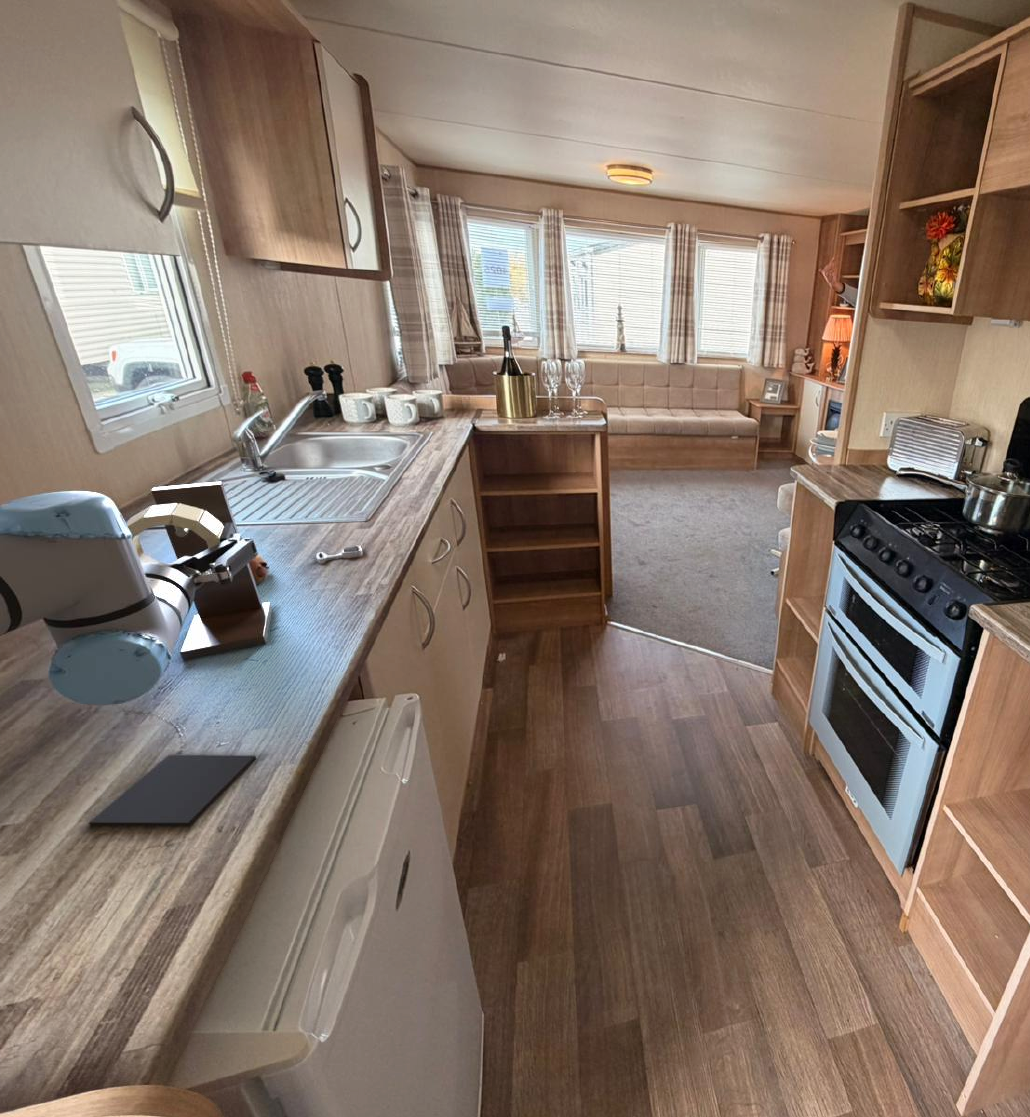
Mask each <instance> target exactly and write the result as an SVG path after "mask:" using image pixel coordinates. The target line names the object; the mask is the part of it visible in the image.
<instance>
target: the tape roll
mask: <svg viewBox="0 0 1030 1117" xmlns="http://www.w3.org/2000/svg"><path fill="white" fill-rule="evenodd" d="M203 511H204V510H203V509H199V508H195V507H192V506H188V505H184V504H180V503H179V504H178V503H173V504H163V505H156V504H154V505H149V506H148V507H146V508H144V509H143V510H141V511H139V512H138V513H136V514H135V515H133V516H131V517H130V518H129V519H128V520H127V521H126V522H125V523H126V524H127V526H128V528H129V530H130V532H131V534H132V535H133V536H132V540H133V542H134V545H135V548H136V551H137V554H138V556H139V559H140V562H141V564H160V565H163V564H165V562H162V561H161V562H160V561H158V560H156V559H155V558H153V557H152V556H150V555H149V554H148V553H146V552H145V551H144V550H143V547H142V545H141V542H140V539H139V536H140V534H142V533H143V532H144V531H147V530H148V529H149V528H156V527H165V525H174V526H178V527H182V528H186V529H190V530H192V531H194V532H195V533H196V534H198V535H199V536H200V537H202V538H203V539H204V540H206V542H207V545H208V548H211V547H213V546H215V545H217V544H219V543H221V542H220V536H221V534H222V531H223V529H224V526H223V525H222V523H221V522H219V521H218V520H217V519H216V518H214V517H213V516H212V515H211V514H209V513H208V512H207V511H204V512H203Z"/></svg>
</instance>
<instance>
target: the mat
mask: <svg viewBox="0 0 1030 1117" xmlns="http://www.w3.org/2000/svg"><path fill="white" fill-rule="evenodd" d="M256 760H257V757H256V755H225V754H224V755H220V754H219V755H215V754H212V755H209V754H168V755H167V756H166V757H164V759H162V760H161V761H160V762H158V764H156V765H155V766H154V767H153V768H152V769H151V770H149V771H148V772H147V773H146V774H145V775H143V776H142V777H141V778H140V779H138V781H137V782H135V783H134V784H132V786H130V787H129V788H128V789H127V790H126V791H124V793H122V794H121V795H120V796H119V797H117V798H116V799H115V800H114V801H113V802H112V803H110V804H109V805H108V806H106V808H104V809H103V810H102V811H100V813H98V814H97V815H96V816H95V817H94V818H93V819H92V820H90V821H89V822H88V824H89V826H90V827H134V828H135V827H140V828H141V827H142V828H143V827H147V828H148V827H151V828H152V827H153V828H154V827H155V828H156V827H157V828H159V827H161V828H162V827H163V828H164V827H166V828H167V827H168V828H169V827H170V828H171V827H172V828H174V827H175V828H176V827H177V828H183V827H184V828H185V827H187V828H189V827H191V826H192V825H193V824H195V822H196V821H197V820H198V819H199V818H200V817H201V816H202V815H203V814H204V813H205V812H206V811H207V810H208V809H209V808H210V807H211V806H212V805H214V803H215V802H216V800H218V799H219V798H220V797H221V795H222V794H224V793H225V792H226V791H227V790H228V788H230V786H231V785H232V784H234V783H235V781H237V780H238V778H239V777H241V775H242V774H243V773H244V772H245V771H246V770H248V768H249V767H250V766H251V765H252V764H253V763H254V762H255V761H256Z"/></svg>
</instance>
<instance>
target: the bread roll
mask: <svg viewBox="0 0 1030 1117" xmlns="http://www.w3.org/2000/svg"><path fill="white" fill-rule="evenodd" d="M249 565H250V568H251V571H252V574H253V577H254V580H255V583H256V586H257V585H259V584H261V583H263V582H264V581H265V580H266V579H267V578H268V574H269V570H270V566H268V563H267V562H266V560H265V559H263V557H262V556H261V555H257V556H256V557H255V558H254V559H252V560H251V561H250V562H249Z"/></svg>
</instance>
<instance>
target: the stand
mask: <svg viewBox="0 0 1030 1117" xmlns="http://www.w3.org/2000/svg"><path fill="white" fill-rule="evenodd" d="M150 491H151V495H152V497H153V499H154V502H155V505H163V504H173V503H178V504H179V503H180V504H184V505H188V506H192V507H195V508H199V509H203V510H204V511H207V512H208V513H209V514H211V515H212V516H213V517H214V518H216V519H217V520H218V521H219V522H221V523H222V525H223V526H225V523H231V522H232V523H233V526H234V529H235V532H236V534H237V533H240V532H239V530H238V526H237V523H236V519H235V516H234V513H233V511H232V508H231V504H230V502H229V500H228V496H227V493H226V490H225V487H224V483H223V481H213V482H212V481H211V482H202V483H200V482H199V483H190V484H179V485H168V486H158V487H157V486H156V487H153V488H152V489H151V490H150ZM204 511H203V512H204ZM164 529H165V531H166V534H167V536H168V538H169V541H170V544H171V546H172V550H173V551H174V555H175V557H176V560H178V559H180V558H182V557H184V556H189V557H193V556H195V555H197V554H199V553H201V552H203V551H205V550H207V549H209V548H208V545H207V542H206V540H204V539H203V538H202V537H200V536H199V535H198V534H196V533H195V532H194V531H192V530H190V529H186V528H182V527H178V526H174V525H165V526H164ZM193 603H194V606H195V608H196V611H197V614H194V616H193V618H192V620H191V623H190V625H189V629H188V631H187V633H186V636H185V638H184V641H183V644H182V645H181V648H180V651H179V654H180V657H181V660H182V661H183V662H184V661H189V660H194V659H198V658H199V659H200V658H204V657H208V656H209V657H210V656H214V655H219V654H223V653H228V652H233V651H238V650H242V649H243V650H244V649H248V648H253V647H259V646H262V645H263V646H264V645H266V644H267V642H268V636H269V630H270V624H271V618H272V613H273V607H272V604H271V602H270V601H268V602H263V601H262V599H261V596H260V593H259V590H258V587H257V585H256V583H255V580H254V577H253V574H252V571H251V568H250V565H249V563H248V564H247V565H246V566H244V567H243V568H242V569H241V570H240V571H239V572H237V573H236V574H235V575H234V576H233V578H232V582H231V583H229V584H226V585H220V583H219V582H215V580H213V581H207V582H203V585H202V586H201V587H199V588H197V589H196V590H195V596H194V600H193Z"/></svg>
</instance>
